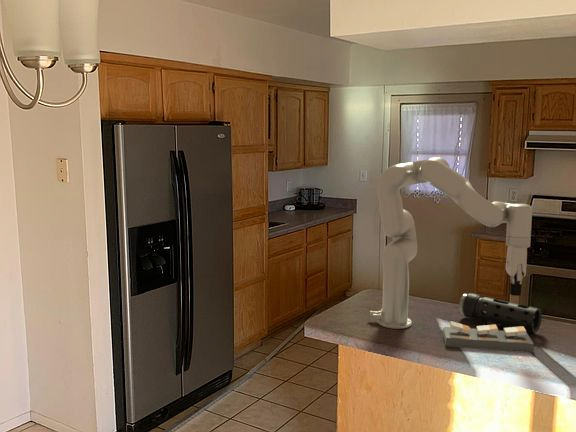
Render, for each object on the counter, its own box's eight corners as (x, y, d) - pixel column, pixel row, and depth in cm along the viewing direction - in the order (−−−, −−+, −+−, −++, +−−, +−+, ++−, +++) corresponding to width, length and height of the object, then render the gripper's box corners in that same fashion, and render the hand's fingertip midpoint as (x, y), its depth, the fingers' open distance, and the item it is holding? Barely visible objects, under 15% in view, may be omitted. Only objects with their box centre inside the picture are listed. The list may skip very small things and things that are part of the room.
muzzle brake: (530, 339, 201) (532, 311, 199) (457, 320, 220) (458, 294, 218) (540, 332, 208) (543, 305, 206) (468, 314, 227) (469, 289, 225)
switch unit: (445, 346, 194) (446, 335, 193) (442, 334, 205) (443, 324, 204) (533, 352, 189) (534, 341, 188) (525, 340, 200) (526, 330, 199)
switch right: (506, 336, 193) (506, 332, 193) (504, 331, 197) (503, 327, 197) (526, 334, 192) (526, 330, 191) (523, 329, 196) (523, 325, 196)
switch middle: (478, 334, 194) (478, 330, 194) (476, 329, 199) (476, 325, 199) (498, 332, 193) (498, 328, 193) (496, 328, 198) (495, 323, 198)
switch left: (450, 329, 196) (452, 325, 196) (449, 324, 200) (450, 320, 200) (469, 334, 195) (470, 330, 195) (467, 329, 200) (468, 325, 199)
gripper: (502, 236, 198) (499, 288, 200) (510, 245, 183) (507, 300, 186) (525, 237, 196) (522, 289, 199) (535, 246, 182) (532, 302, 184)
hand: (515, 294), depth 192 cm, fingers closed
